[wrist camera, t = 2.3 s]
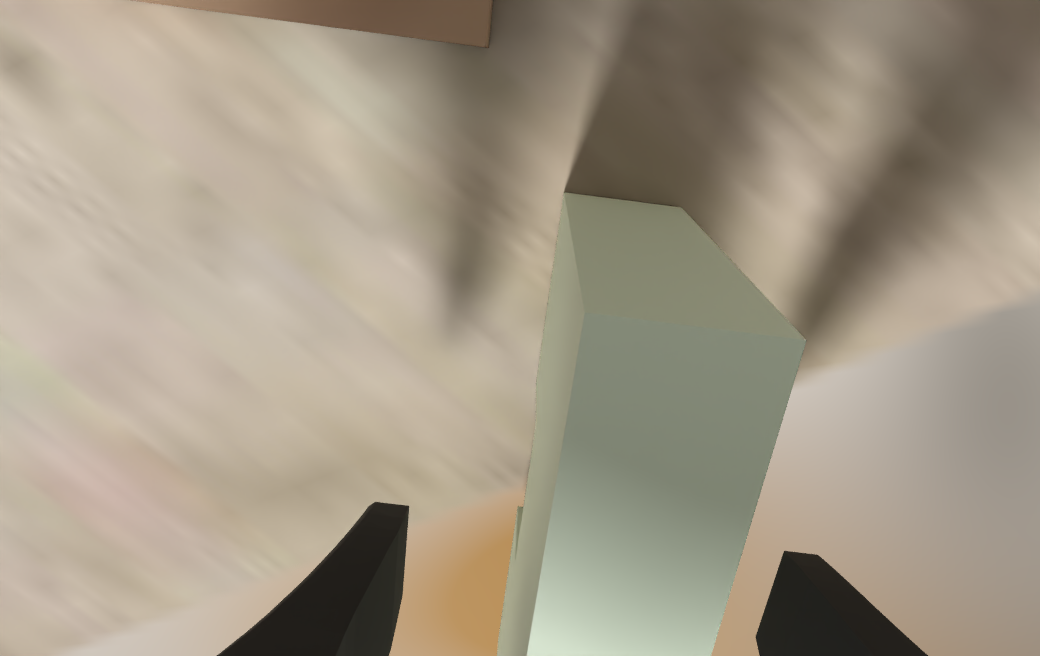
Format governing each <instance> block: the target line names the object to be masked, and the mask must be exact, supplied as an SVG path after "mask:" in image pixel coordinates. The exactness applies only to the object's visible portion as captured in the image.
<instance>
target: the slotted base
mask: <svg viewBox="0 0 1040 656" xmlns="http://www.w3.org/2000/svg"><path fill="white" fill-rule="evenodd" d="M132 1H139V2H147V3H154V4H162V5H170V6H177V7H185V8H192V9H200V10H207V11H215V12H222V13H230V14H237V15H245V16H252V17H260V18H268V19H275V20H283V21H290V22H298V23H305V24H313V25H320V26H328V27H335V28H343V29H350V30H358V31H366V32H373V33H381V34H388V35H396V36H403V37H411V38H418V39H426V40H433V41H441V42H448V43H456V44H464V45H471V46H479V47H486V48H489V37H490V27H491V17H492V7H493V0H132Z"/></svg>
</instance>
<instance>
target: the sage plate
mask: <svg viewBox="0 0 1040 656" xmlns="http://www.w3.org/2000/svg"><path fill="white" fill-rule="evenodd" d="M806 341H807V340H806V339H805V338H804V337H803V336H802V335H801V334H800V333H799V332H798V331H797V330H796V328H795V327H794V326H793V325H792V324H791V323H790V322H789V321H788V320H787V319H786V318H785V317H784V316H783V315H782V314H781V313H780V312H779V310H778V309H777V308H776V307H775V306H774V305H773V304H772V303H771V302H770V301H769V300H768V299H767V298H766V297H765V296H764V295H763V294H762V292H761V291H760V290H759V289H758V288H757V287H756V286H755V285H754V284H753V283H752V282H751V281H750V280H749V279H748V278H747V277H746V276H745V274H744V273H743V272H742V271H741V270H740V269H739V268H738V267H737V266H736V265H735V264H734V263H733V262H732V261H731V260H730V259H729V258H728V256H727V255H726V254H725V253H724V252H723V251H722V250H721V249H720V248H719V247H718V246H717V245H716V244H715V243H714V242H713V241H712V239H711V238H710V237H709V236H708V235H707V234H706V233H705V232H704V231H703V230H702V229H701V228H700V227H699V226H698V225H697V224H696V223H695V221H694V220H693V219H692V218H691V217H690V216H689V215H688V214H687V213H686V212H685V211H684V210H683V209H682V208H681V207H674V206H666V205H659V204H651V203H643V202H635V201H627V200H620V199H612V198H604V197H596V196H589V195H581V194H573V193H565V192H564V195H563V202H562V209H561V216H560V223H559V230H558V236H557V243H556V250H555V257H554V264H553V270H552V277H551V284H550V291H549V298H548V305H547V311H546V318H545V325H544V332H543V339H542V345H541V352H540V359H539V366H538V373H537V379H536V424H535V433H534V440H533V446H532V453H531V460H530V466H529V473H528V480H527V486H526V493H525V500H524V506H523V507H518V509H517V516H516V523H515V529H514V537H513V543H512V550H511V557H510V564H509V571H508V577H507V584H506V591H505V598H504V605H503V611H502V618H501V625H500V632H499V639H498V652H497V656H711V654H712V650H713V647H714V644H715V640H716V637H717V634H718V631H719V627H720V624H721V621H722V617H723V614H724V611H725V607H726V604H727V601H728V598H729V594H730V591H731V588H732V584H733V581H734V578H735V575H736V571H737V568H738V565H739V561H740V558H741V555H742V551H743V548H744V545H745V542H746V538H747V535H748V532H749V528H750V525H751V522H752V518H753V515H754V512H755V509H756V505H757V502H758V499H759V496H760V492H761V489H762V486H763V482H764V479H765V476H766V472H767V469H768V466H769V463H770V459H771V456H772V453H773V449H774V446H775V443H776V439H777V436H778V433H779V430H780V426H781V423H782V420H783V416H784V413H785V410H786V407H787V403H788V400H789V397H790V393H791V390H792V387H793V383H794V380H795V377H796V374H797V370H798V367H799V364H800V360H801V357H802V354H803V351H804V347H805V344H806Z"/></svg>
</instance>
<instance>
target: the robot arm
mask: <svg viewBox="0 0 1040 656" xmlns="http://www.w3.org/2000/svg"><path fill="white" fill-rule="evenodd" d="M408 514H409V506H405V505H396V504H388V503H380V502H375V503H373V504H372V505H370V506H369V507H368V508H367V509H366V511H365V512H364V513H363V515H362V516H361V517H360V518H359V520H358V521H357V522H356V523H355V525H354V526H353V527H352V528H351V529H350V531H349V532H348V533H347V534H346V535H345V536H344V538H343V539H342V540H341V541H340V542H339V543H338V544H337V546H336V547H335V548H334V549H333V550H332V551H331V552H330V553H329V554H328V555H327V556H326V557H325V558H324V560H323V561H322V562H321V563H320V564H319V565H318V566H317V567H316V568H315V569H314V570H313V571H312V572H311V573H310V574H309V575H308V576H307V577H306V578H305V579H304V580H303V581H302V582H301V583H300V584H299V585H298V586H297V587H296V588H295V589H294V590H293V591H292V592H291V593H290V594H289V595H288V596H287V597H285V598H284V599H283V600H282V601H281V602H280V603H279V604H278V605H277V606H276V607H275V608H274V609H273V610H272V611H270V613H268V614H267V615H266V616H265V617H264V618H263V619H261V620H260V621H259V622H258V623H257V624H256V625H254V626H253V627H252V628H251V629H250V630H248V631H247V632H246V633H245V634H244V635H242V636H241V637H240V638H239V639H237V640H236V641H235V642H234V643H232V644H231V645H230V646H229V647H227V648H226V649H225V650H224V651H222V652H221V653H220V654H219V655H217V656H389V653H390V650H391V646H392V641H393V637H394V632H395V628H396V623H397V618H398V614H399V609H400V604H401V600H402V594H403V581H404V567H405V554H406V540H407V528H408ZM756 641H757V645H758V650H759V655H760V656H928V655H927V654H925V653H924V652H923V651H922V650H921V649H920V648H919V647H918V646H917V645H915V644H914V643H913V642H912V641H911V640H910V639H909V638H908V637H906V635H904V634H903V633H902V632H901V631H900V630H899V629H898V628H897V627H896V626H895V625H894V624H892V623H891V622H890V621H889V620H888V619H887V618H886V617H885V616H884V615H883V614H882V613H880V611H879V610H877V609H876V608H875V607H874V606H873V605H872V604H871V603H870V602H869V601H868V600H867V599H866V598H865V597H864V596H863V595H862V594H860V593H859V592H858V591H857V590H856V589H855V588H854V587H853V586H852V585H851V584H850V583H849V582H848V581H847V580H845V579H844V578H843V577H842V576H841V575H840V574H839V573H838V572H837V571H836V570H835V569H833V568H832V567H831V566H830V565H829V564H828V563H827V562H825V561H824V560H823V559H822V558H821V557H820V556H818V555H814V554H806V553H798V552H788V551H784V553H783V556H782V559H781V562H780V565H779V568H778V571H777V574H776V577H775V580H774V583H773V586H772V589H771V592H770V595H769V598H768V601H767V605H766V607H765V610H764V613H763V616H762V620H761V622H760V626H759V628H758V632H757V635H756Z"/></svg>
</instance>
